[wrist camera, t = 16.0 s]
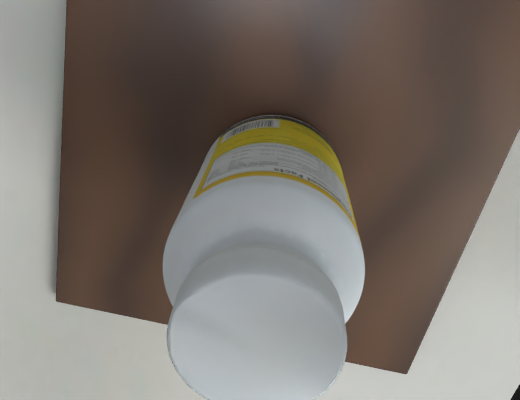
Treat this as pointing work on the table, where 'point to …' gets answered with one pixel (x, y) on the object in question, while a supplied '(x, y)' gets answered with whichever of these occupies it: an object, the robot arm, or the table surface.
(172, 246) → the pill bottle
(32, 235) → the table surface
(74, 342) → the table surface
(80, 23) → the mat
